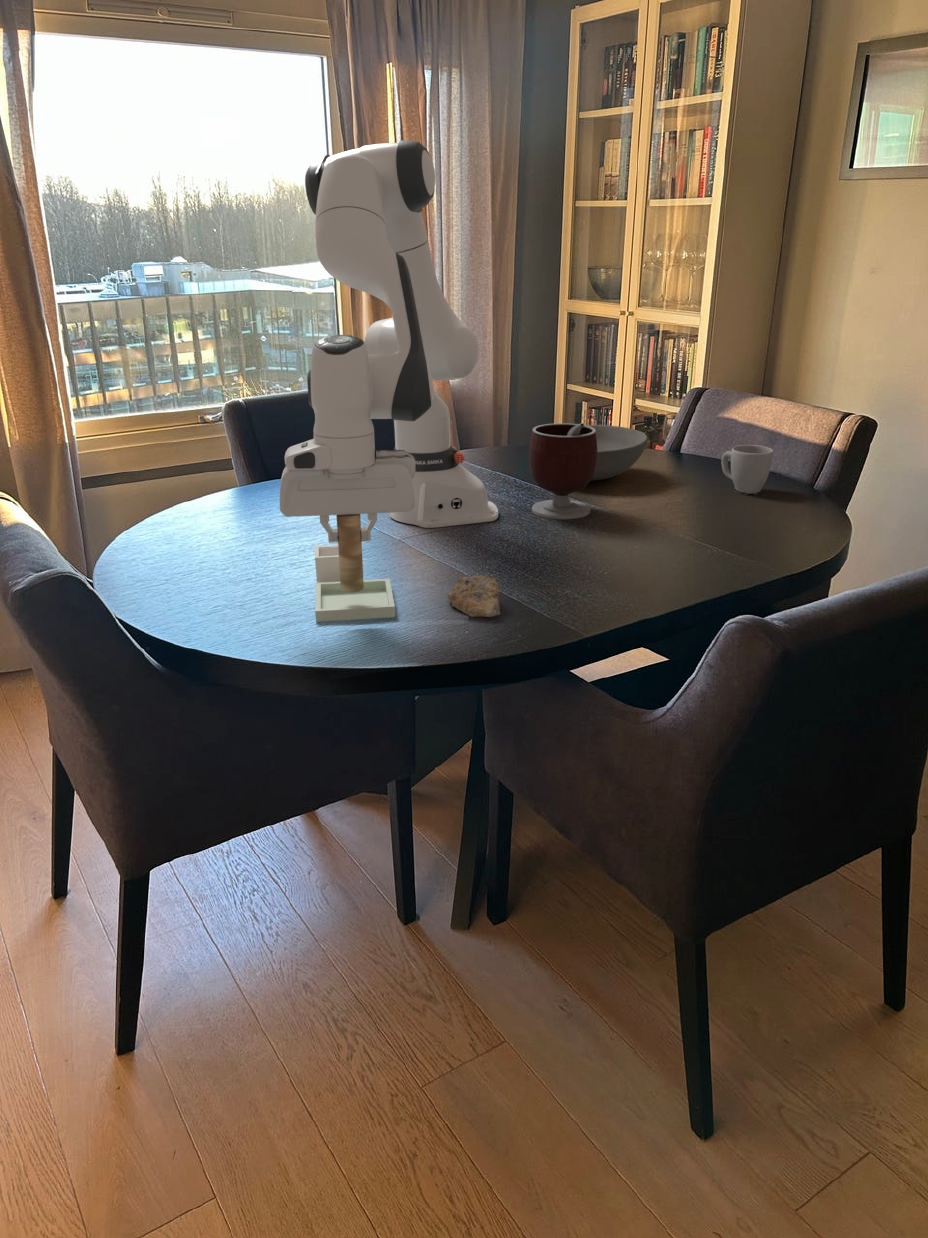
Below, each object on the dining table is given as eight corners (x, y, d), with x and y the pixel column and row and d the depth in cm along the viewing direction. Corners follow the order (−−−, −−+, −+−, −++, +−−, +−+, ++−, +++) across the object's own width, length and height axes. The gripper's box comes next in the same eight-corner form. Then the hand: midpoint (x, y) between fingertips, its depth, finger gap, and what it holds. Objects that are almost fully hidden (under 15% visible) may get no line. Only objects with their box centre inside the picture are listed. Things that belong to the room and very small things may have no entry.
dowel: (363, 583, 145) (359, 510, 141) (364, 591, 142) (360, 517, 137) (340, 584, 145) (336, 511, 140) (340, 592, 142) (336, 518, 137)
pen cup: (351, 574, 158) (349, 544, 156) (352, 587, 153) (350, 555, 151) (317, 576, 158) (315, 546, 156) (317, 588, 152) (315, 557, 150)
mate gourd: (518, 504, 197) (520, 411, 189) (577, 498, 201) (581, 407, 193) (546, 525, 184) (549, 425, 176) (608, 518, 188) (614, 420, 180)
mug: (776, 492, 205) (781, 449, 202) (752, 499, 200) (757, 455, 197) (731, 481, 214) (736, 440, 210) (707, 487, 209) (712, 445, 205)
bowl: (653, 491, 206) (657, 447, 203) (536, 491, 207) (537, 447, 203) (635, 463, 231) (637, 423, 227) (530, 463, 231) (531, 423, 227)
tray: (390, 591, 151) (389, 578, 150) (395, 620, 140) (394, 606, 139) (316, 595, 150) (315, 582, 149) (316, 625, 139) (315, 611, 138)
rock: (446, 598, 149) (443, 610, 140) (456, 563, 148) (452, 573, 138) (498, 611, 150) (498, 625, 140) (507, 577, 148) (508, 588, 139)
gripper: (413, 444, 139) (415, 531, 145) (276, 449, 137) (284, 537, 142) (417, 454, 133) (419, 544, 139) (274, 458, 131) (282, 550, 136)
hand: (349, 540), depth 140 cm, fingers closed on dowel, 4 cm apart
